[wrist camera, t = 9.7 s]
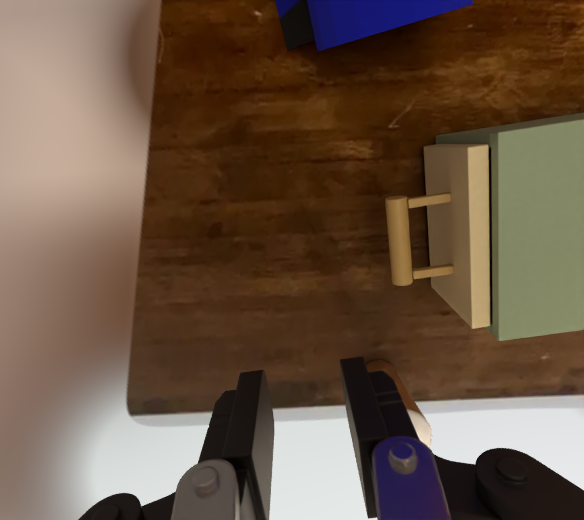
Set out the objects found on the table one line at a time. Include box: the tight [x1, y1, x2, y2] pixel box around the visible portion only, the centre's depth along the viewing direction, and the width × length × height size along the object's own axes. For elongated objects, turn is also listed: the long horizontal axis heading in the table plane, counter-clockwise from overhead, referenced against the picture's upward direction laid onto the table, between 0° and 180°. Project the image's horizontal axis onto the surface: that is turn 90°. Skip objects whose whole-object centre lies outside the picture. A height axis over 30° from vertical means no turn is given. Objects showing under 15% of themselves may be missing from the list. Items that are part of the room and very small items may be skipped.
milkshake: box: [366, 360, 432, 447], centre depth 31 cm, size 5×5×10 cm
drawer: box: [385, 144, 492, 328], centre depth 27 cm, size 18×11×8 cm, turn 99°
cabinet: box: [436, 112, 584, 341], centre depth 27 cm, size 15×13×10 cm
